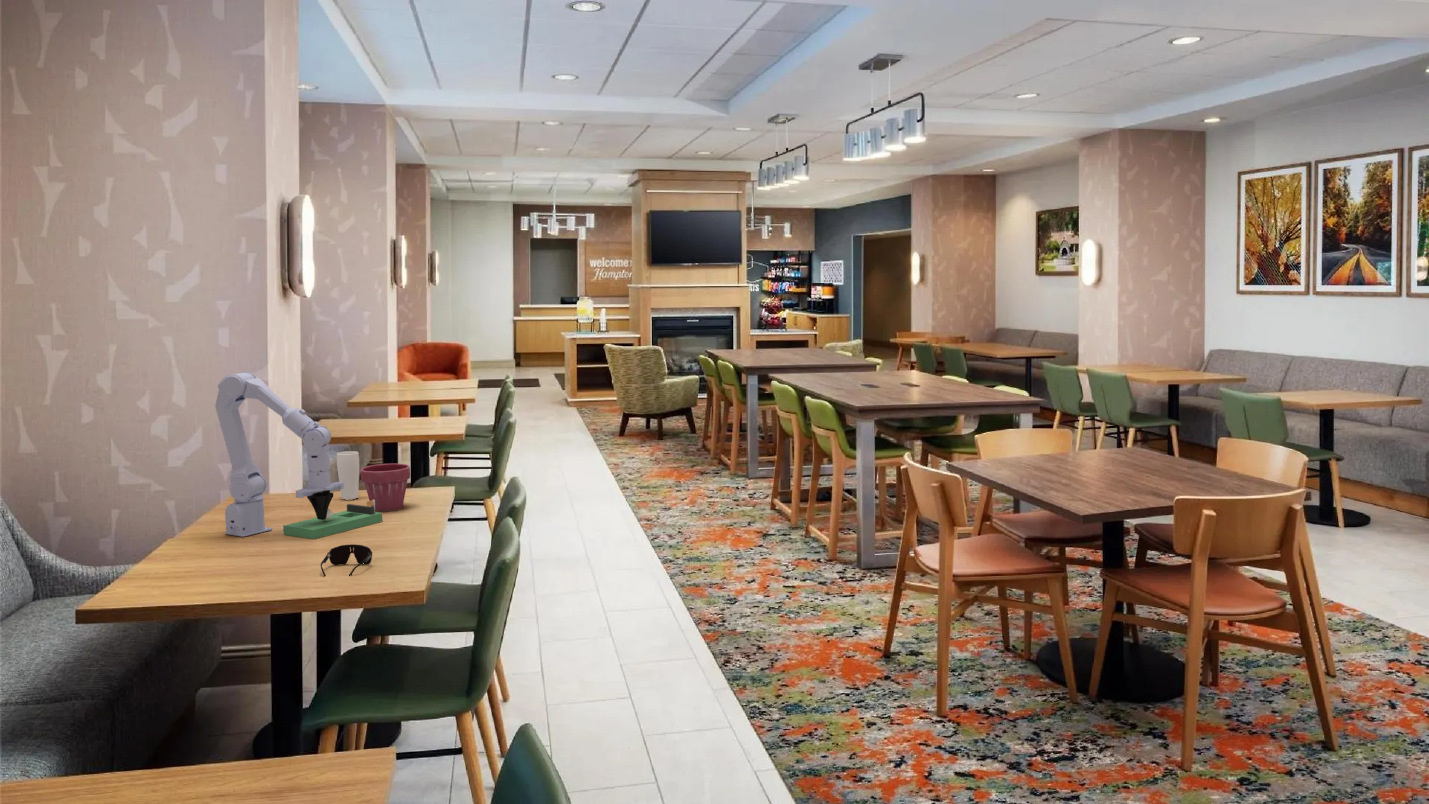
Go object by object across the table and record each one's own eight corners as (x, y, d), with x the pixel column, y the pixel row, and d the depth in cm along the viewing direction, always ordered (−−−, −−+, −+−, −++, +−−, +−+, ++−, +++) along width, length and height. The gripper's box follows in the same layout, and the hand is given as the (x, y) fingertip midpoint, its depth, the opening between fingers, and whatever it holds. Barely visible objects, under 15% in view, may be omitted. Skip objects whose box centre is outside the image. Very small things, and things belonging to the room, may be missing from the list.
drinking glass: (364, 497, 334) (362, 451, 333) (355, 501, 328) (353, 454, 326) (344, 496, 335) (342, 451, 333) (334, 501, 328) (332, 454, 327)
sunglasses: (375, 563, 252) (373, 543, 251) (360, 583, 240) (358, 562, 239) (331, 564, 252) (329, 544, 250) (314, 583, 240) (312, 563, 239)
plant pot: (361, 514, 308) (359, 472, 306) (363, 505, 321) (362, 464, 320) (411, 511, 311) (409, 469, 310) (411, 502, 325) (410, 462, 323)
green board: (313, 539, 277) (312, 515, 276) (283, 534, 283) (282, 511, 282) (382, 521, 298) (381, 499, 297) (353, 517, 304) (352, 495, 303)
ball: (323, 520, 285) (328, 507, 286) (314, 518, 286) (319, 505, 287) (332, 523, 288) (337, 511, 288) (324, 521, 289) (328, 509, 290)
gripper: (306, 475, 276) (310, 525, 278) (350, 467, 289) (353, 515, 290) (289, 473, 280) (292, 523, 281) (332, 465, 292) (335, 513, 294)
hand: (322, 519), depth 286 cm, fingers closed, pressing on ball
